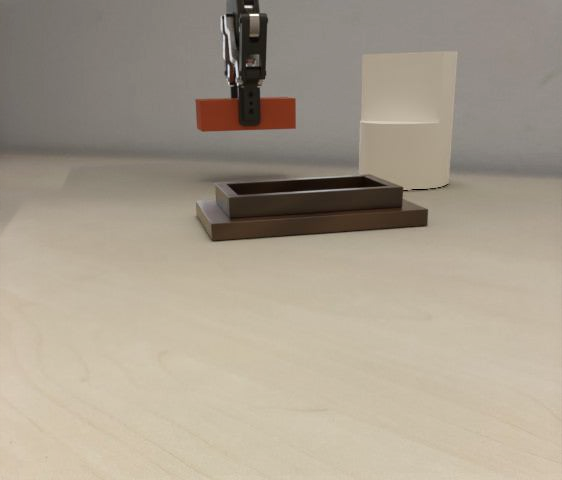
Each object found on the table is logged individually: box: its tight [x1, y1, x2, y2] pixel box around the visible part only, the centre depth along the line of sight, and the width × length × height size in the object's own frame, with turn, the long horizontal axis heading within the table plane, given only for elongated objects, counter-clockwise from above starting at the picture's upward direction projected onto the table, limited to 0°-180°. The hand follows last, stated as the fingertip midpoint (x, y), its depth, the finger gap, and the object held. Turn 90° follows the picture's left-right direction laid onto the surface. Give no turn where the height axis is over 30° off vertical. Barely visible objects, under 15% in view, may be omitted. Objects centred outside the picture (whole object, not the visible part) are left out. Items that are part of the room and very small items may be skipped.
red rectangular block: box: [195, 96, 297, 133], centre depth 75 cm, size 10×4×3 cm, turn 103°
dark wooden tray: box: [195, 174, 429, 242], centre depth 54 cm, size 16×10×3 cm, turn 102°
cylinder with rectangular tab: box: [358, 50, 459, 190], centre depth 69 cm, size 9×9×12 cm
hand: (245, 123), depth 75 cm, fingers closed on red rectangular block, 4 cm apart
